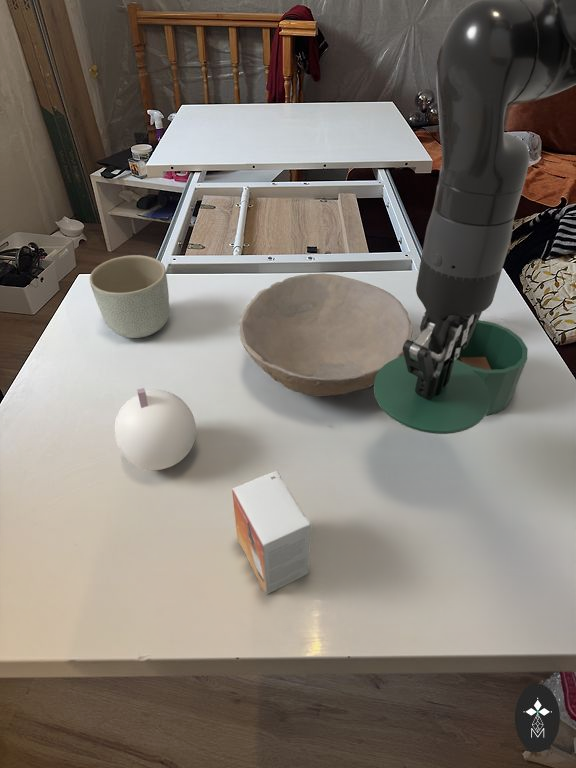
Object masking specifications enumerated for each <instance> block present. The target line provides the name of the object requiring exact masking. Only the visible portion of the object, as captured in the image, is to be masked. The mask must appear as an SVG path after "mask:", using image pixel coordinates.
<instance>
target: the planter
mask: <svg viewBox="0 0 576 768" xmlns="http://www.w3.org/2000/svg"><path fill="white" fill-rule="evenodd" d="M89 284H90V287H91V291H92V293H93V296H94V299H95V301H96V304H97V306H98V309H99V312H100V314H101V316H102V318H103V321H104V322H105V324H106V325H107V327H108V328H109V329H110V331H112V332H113V333H115V334H116V335H118V336H121V337H125V338H129V339H139V338H140V339H141V338H146V337H149V336H151V335H153V334H155V333H157V332H158V331H159V330H161V329H162V328H163V327H164V326H165V324H166V323H167V322H168V319H169V316H170V297H169V296H170V295H169V294H170V293H169V286H168V285H169V284H168V276H167V271H166V266H165V264H163V262H162V261H160V260H159V259H157V258H154V257H151V256H148V255H141V254H137V255H136V254H132V255H131V254H130V255H123V256H118V257H114V258H111V259H108V260H106V261H104V262H102V263H101V264H99V265H98V266H96V267H95V268H94V269H93V270H92V272H91V273H90V276H89Z"/></svg>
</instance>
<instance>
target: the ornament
mask: <svg viewBox="0 0 576 768" xmlns="http://www.w3.org/2000/svg"><path fill="white" fill-rule="evenodd" d="M136 391H137V393H136V394H135V395H133V396H132V397H131V398H129V399H127V401H126V402H125V403H124V404H123V405H122V407H121V408H120V409H119V411H118V413H117V414H116V417H115V422H114V437H115V440H116V444H117V447H118V448H119V450H120V452H121V453H122V455H123V456H124V457H125V458H126V460H127V461H129V462H130V463H131V464H133V465H135V466H137V467H138V468H141V469H144V470H147V471H161V470H165V469H168V468H171V467H173V466H175V465H177V464H178V463H180V462H181V461H183V459H185V457H187V455H188V454H189V453H190V451H191V450H192V448H193V446H194V444H195V441H196V438H197V424H196V420H195V416H194V414H193V412H192V410H191V409H190V407H189V405H188V404H187V403H186V402H185V401H184V400H183V399H182V398H181V397H180V396H178V395H176V394H175V393H173V392H170V391H167V390H164V389H163V390H162V389H149V390H145V387H143V388H137V389H136Z"/></svg>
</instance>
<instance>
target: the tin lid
mask: <svg viewBox="0 0 576 768" xmlns="http://www.w3.org/2000/svg"><path fill="white" fill-rule="evenodd" d="M453 361H454V360H453ZM432 364H433V365H435V359H433V358H432ZM448 365H449V359H447V360H446V361H445V362H444V364H443V367H442V370H441V374H440V377H439V381H438V385H437V389H436V393H435V396H434V397H433V398H432V399H431V400H427V399H425V398H423V397H421V396H419V395H417V394H416V392H415V388H416V383H417V378H418V377H417V376H415V375H413V374H411V373H409V372H408V369H407V365H406V361H405V357H404V356H402V357H398V358H396V359H393V360H391V361H390V362H388V363H387V364H385V365H384V366H383V367H382V368H381V369H380V370H379V372H378V373H377V375H376V377H375V381H374V385H373V394H374V397H375V400H376V402H377V403H378V405H379V407H380V408H381V409H382V410H383V411H384V412H385V414H386V415H387V416H389V417H390V418H391V419H392V420H394V421H395V422H397V423H399V424H401V425H403V426H405V427H407V428H410V429H412V430H415V431H417V432H421V433H427V434H435V435H450V434H457V433H461V432H464V431H468V430H469V429H472V428H474V427H475V426H476V425H478V424H480V422H481V421H483V420H484V418H485V417H486V416H487V415H486V413H487V411H488V409H489V404H490V395H489V391H488V389H487V386H486V385H485V383H484V382H483V380H482V379H481V378H480V377H479V376H478V375H477V374H476V373H475V372H474V371H473V370H471V369H470V368H468V367H467V366H465V365H463V364H461V363H459V362H457V361H454V364H453V367H452V371H451V375H450V379H449V382H448V384H447V385H446V386H444V387H443V384H444V380H445V377H446V373H447V369H448Z"/></svg>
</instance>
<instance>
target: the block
mask: <svg viewBox="0 0 576 768" xmlns="http://www.w3.org/2000/svg"><path fill="white" fill-rule="evenodd" d="M459 361H461V362H463V363H465V364H467V365H470V366H472V367H476V368H481V369H486V370H491V368H490V366H489V364H488V361H487V359H486V357H460V359H459Z"/></svg>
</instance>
